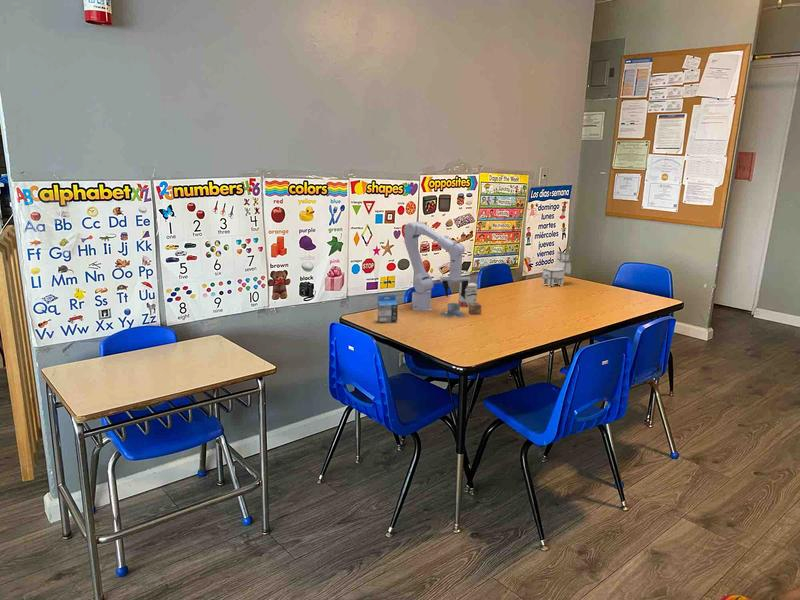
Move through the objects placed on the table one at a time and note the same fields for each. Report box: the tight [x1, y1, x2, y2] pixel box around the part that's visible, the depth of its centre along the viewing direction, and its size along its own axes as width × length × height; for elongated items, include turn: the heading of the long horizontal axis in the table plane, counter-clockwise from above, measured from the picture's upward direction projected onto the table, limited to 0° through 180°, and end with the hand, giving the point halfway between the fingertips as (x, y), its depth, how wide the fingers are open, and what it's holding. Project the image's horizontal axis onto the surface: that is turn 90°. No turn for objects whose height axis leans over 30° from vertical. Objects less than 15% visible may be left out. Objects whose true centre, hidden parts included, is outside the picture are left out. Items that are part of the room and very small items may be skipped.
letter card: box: [441, 311, 466, 318], centre depth 293 cm, size 10×10×1 cm
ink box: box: [457, 282, 478, 308], centre depth 308 cm, size 8×5×12 cm, turn 99°
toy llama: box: [541, 250, 573, 286], centre depth 361 cm, size 8×18×20 cm, turn 117°
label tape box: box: [377, 294, 399, 323], centre depth 277 cm, size 9×4×12 cm, turn 105°
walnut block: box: [468, 302, 482, 316], centre depth 295 cm, size 5×5×5 cm
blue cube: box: [446, 302, 461, 316], centre depth 292 cm, size 5×5×5 cm
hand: (454, 296), depth 290 cm, fingers open, 7 cm apart
